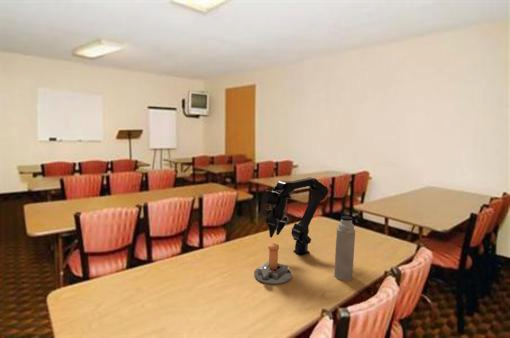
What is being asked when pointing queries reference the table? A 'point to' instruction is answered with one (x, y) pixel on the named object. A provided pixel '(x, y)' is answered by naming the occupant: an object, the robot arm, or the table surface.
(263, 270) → the grey peg hole base
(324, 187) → the robot arm
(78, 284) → the table surface
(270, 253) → the wooden peg
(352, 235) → the thermos bottle
